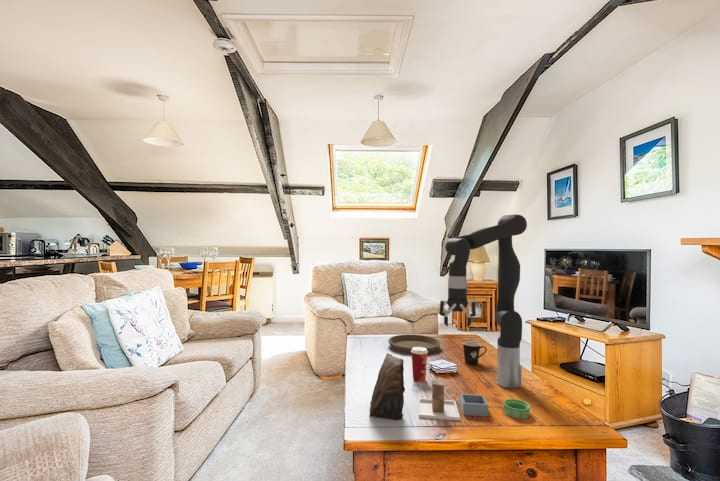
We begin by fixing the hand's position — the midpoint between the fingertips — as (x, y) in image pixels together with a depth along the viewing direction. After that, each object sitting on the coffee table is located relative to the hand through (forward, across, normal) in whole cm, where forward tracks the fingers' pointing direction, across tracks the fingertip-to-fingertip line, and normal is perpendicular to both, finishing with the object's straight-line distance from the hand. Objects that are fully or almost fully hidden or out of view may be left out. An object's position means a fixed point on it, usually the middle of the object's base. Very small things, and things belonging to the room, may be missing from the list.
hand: (457, 326), depth 151 cm
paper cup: (+28, +15, -15) cm, 35 cm away
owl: (+28, +28, +21) cm, 45 cm away
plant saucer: (+29, +17, -68) cm, 76 cm away
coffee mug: (+28, -14, -43) cm, 53 cm away
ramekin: (+28, -19, +16) cm, 38 cm away
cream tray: (+28, +9, +18) cm, 35 cm away
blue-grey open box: (+28, -4, +16) cm, 33 cm away
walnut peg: (+27, +9, +18) cm, 34 cm away
